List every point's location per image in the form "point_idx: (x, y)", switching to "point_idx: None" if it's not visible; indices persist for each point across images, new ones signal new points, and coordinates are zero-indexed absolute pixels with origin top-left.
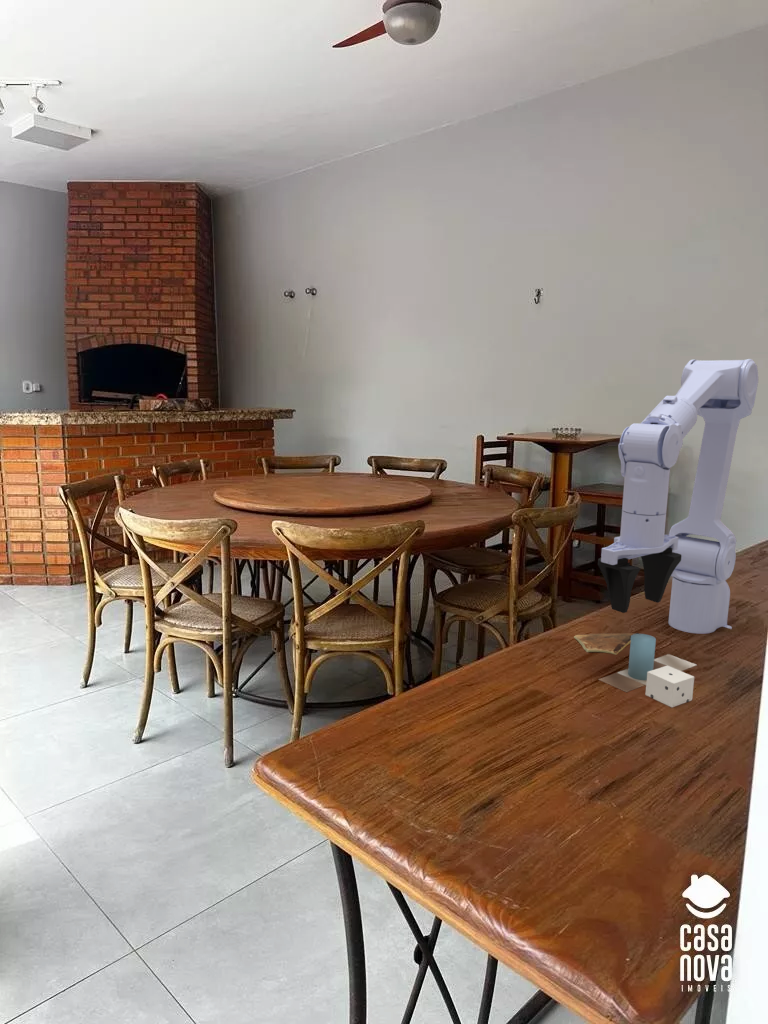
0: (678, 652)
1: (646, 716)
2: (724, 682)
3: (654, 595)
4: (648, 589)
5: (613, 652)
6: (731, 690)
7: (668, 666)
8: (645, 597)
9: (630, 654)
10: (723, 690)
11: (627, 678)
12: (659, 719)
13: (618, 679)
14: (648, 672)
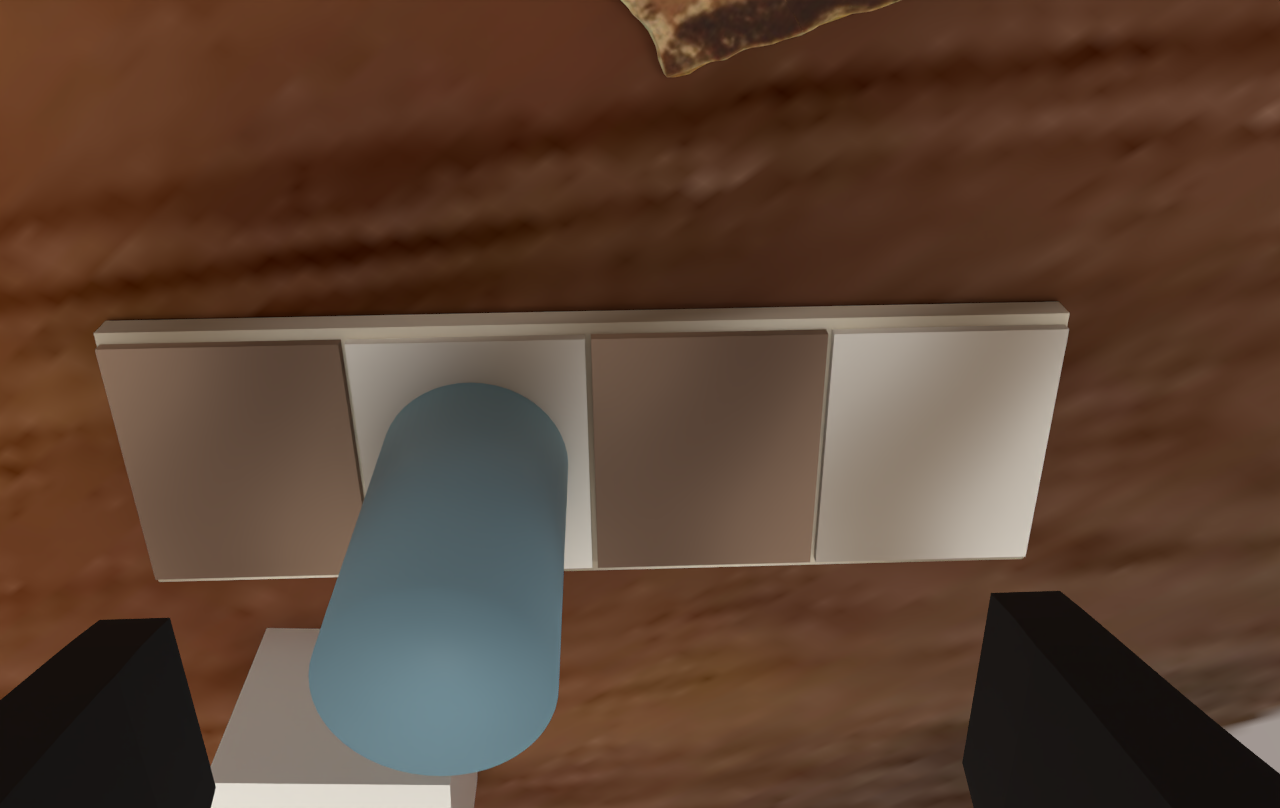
0: (1260, 275)
1: None
2: (949, 714)
3: (1003, 791)
4: (1058, 748)
5: (656, 48)
6: (867, 781)
7: (439, 797)
8: (1001, 604)
9: (355, 528)
10: (827, 763)
11: (334, 454)
12: None
13: (253, 431)
14: None
